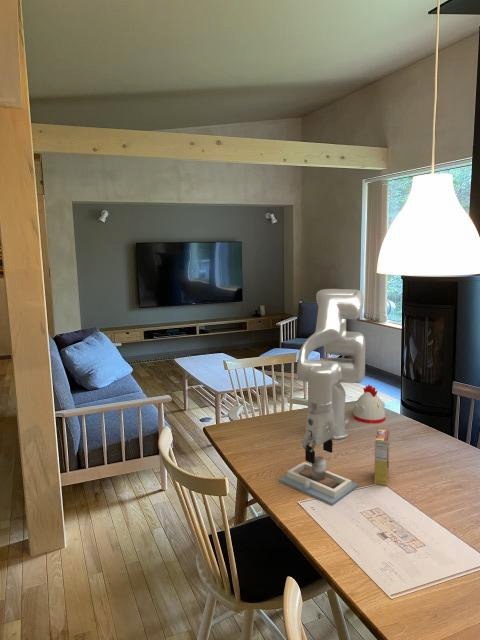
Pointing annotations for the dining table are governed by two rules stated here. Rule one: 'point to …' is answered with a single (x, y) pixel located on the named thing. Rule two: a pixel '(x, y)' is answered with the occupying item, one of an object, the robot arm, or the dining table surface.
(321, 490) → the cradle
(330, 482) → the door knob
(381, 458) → the candy box
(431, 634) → the dining table surface
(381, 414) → the kitchen timer
